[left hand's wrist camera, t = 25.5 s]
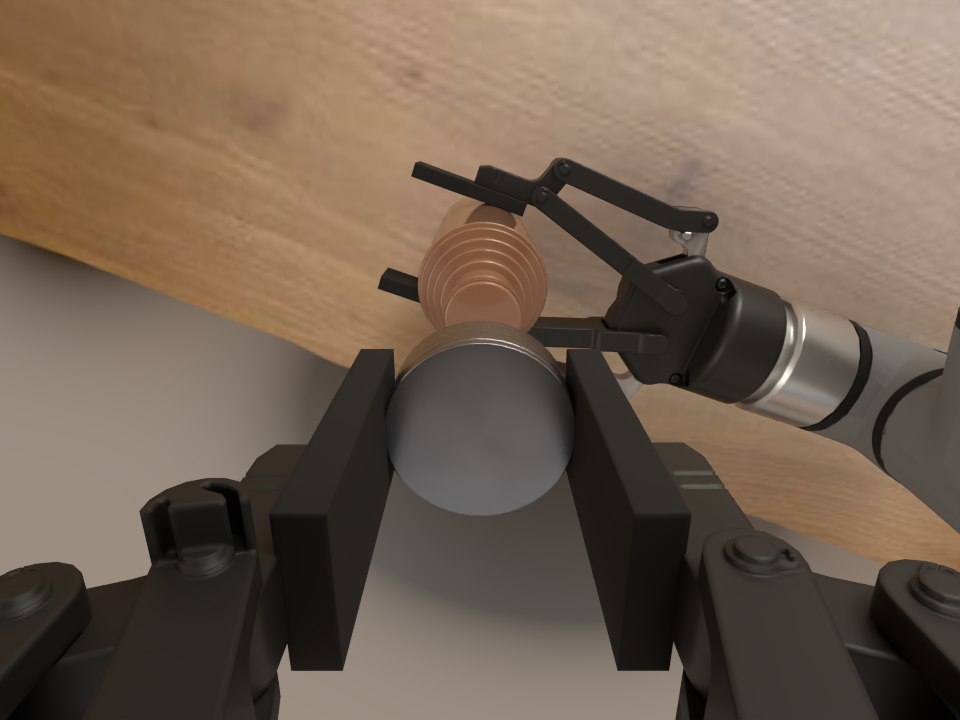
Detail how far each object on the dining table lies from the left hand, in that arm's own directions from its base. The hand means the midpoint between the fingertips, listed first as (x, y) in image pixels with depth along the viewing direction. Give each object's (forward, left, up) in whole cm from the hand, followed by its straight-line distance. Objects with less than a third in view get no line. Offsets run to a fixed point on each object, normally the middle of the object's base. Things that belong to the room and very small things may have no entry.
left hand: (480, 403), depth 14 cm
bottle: (0, 0, -29) cm, 29 cm away
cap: (0, 0, +1) cm, 1 cm away
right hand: (-5, -1, -22) cm, 23 cm away
